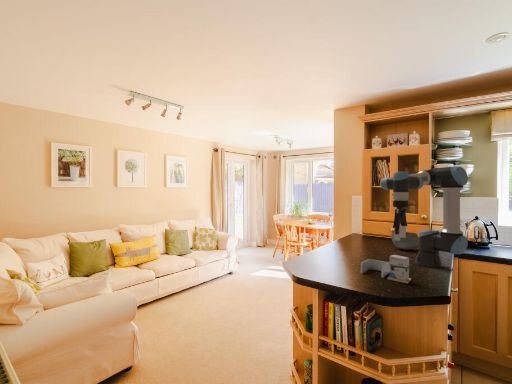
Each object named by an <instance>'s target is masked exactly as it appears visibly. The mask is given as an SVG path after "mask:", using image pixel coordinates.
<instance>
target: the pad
mask: <svg viewBox="0 0 512 384" xmlns="http://www.w3.org/2000/svg"><path fill="white" fill-rule="evenodd" d="M386 279H387V280H390V281H395V282H398V283H404V284H409V283H410V282H411V281H412V278H410V277H409V279H408V280H406V281H403V280H400V279H396V278H392V277H389V276H388V277H386Z"/></svg>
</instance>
